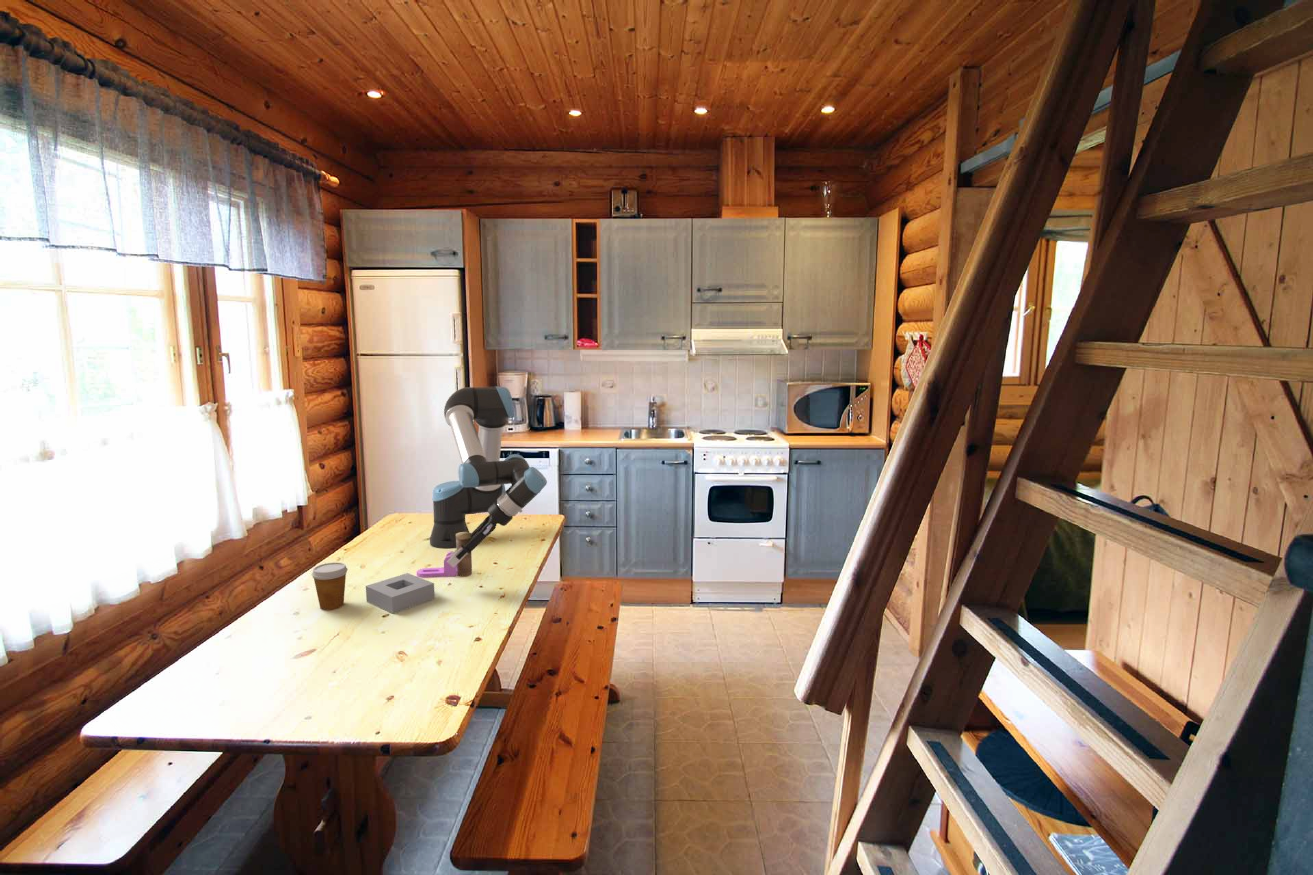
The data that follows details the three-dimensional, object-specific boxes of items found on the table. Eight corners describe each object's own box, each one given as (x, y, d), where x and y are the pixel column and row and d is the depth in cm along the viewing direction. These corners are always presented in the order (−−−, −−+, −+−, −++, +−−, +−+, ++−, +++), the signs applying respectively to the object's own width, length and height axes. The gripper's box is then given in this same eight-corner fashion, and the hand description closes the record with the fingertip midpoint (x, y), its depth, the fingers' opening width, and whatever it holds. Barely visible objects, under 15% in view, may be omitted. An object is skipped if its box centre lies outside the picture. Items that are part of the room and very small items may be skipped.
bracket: (458, 570, 227) (457, 551, 226) (455, 576, 221) (455, 556, 220) (418, 572, 225) (417, 552, 224) (415, 578, 219) (414, 558, 218)
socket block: (366, 601, 199) (365, 585, 198) (408, 587, 210) (407, 572, 209) (392, 613, 191) (391, 597, 190) (434, 598, 202) (434, 583, 201)
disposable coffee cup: (356, 602, 199) (354, 564, 197) (331, 614, 190) (329, 574, 188) (331, 597, 202) (329, 560, 200) (306, 609, 193) (303, 570, 191)
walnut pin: (453, 574, 206) (452, 534, 204) (466, 570, 210) (464, 530, 207) (463, 577, 203) (461, 537, 201) (475, 573, 207) (474, 533, 205)
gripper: (511, 525, 197) (456, 579, 197) (515, 509, 214) (464, 559, 214) (493, 508, 195) (437, 563, 196) (498, 493, 212) (447, 544, 213)
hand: (451, 561), depth 205 cm, fingers closed on walnut pin, 4 cm apart
